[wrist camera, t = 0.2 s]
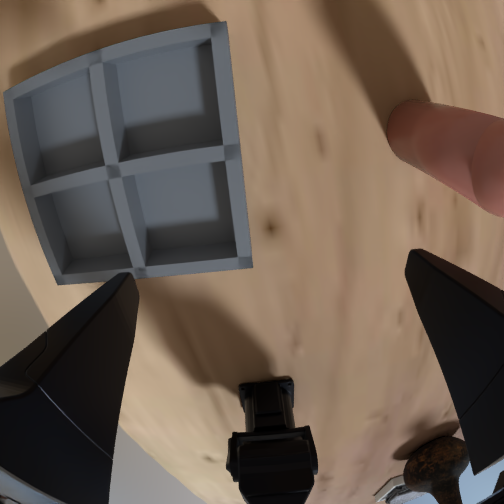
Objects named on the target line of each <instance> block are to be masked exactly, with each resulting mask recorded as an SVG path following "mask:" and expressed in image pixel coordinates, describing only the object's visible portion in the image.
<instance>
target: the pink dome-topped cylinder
mask: <svg viewBox="0 0 504 504" xmlns="http://www.w3.org/2000/svg"><path fill="white" fill-rule="evenodd" d="M387 137H388V142H389V145H390V147H391V149H392V151H393V152H394V154H395V155H396V156H397V157H398V158H399V159H401V160H402V161H404V162H406V163H408V164H410V165H412V166H413V167H415V168H417V169H419V170H421V171H423V172H424V173H426V174H428V175H430V176H431V177H433V178H435V179H436V180H438V181H440V182H442V183H443V184H445V185H447V186H448V187H450V188H452V189H453V190H455V191H456V192H458V193H460V194H461V195H463V196H464V197H466V198H467V199H469V200H470V201H472V202H473V203H475V204H476V205H478V206H479V207H481V208H482V209H484V210H485V211H487V212H489V213H491V214H493V215H495V216H499V217H504V119H503V118H500V117H496V116H492V115H488V114H485V113H481V112H476V111H472V110H468V109H463V108H459V107H454V106H449V105H444V104H438V103H432V102H426V101H420V100H407V101H404V102H402V103H400V104H399V105H398V106H397V107H396V108H395V109H394V110H393V112H392V113H391V115H390V117H389V120H388V125H387Z"/></svg>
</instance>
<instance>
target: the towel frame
mask: <svg viewBox="0 0 504 504" xmlns="http://www.w3.org/2000/svg"><path fill="white" fill-rule="evenodd" d="M402 484H405V483H404V479H403V475H402V476H399V477H396V478H393V479H391V480H390V481H389V482H388V483H387V484H386V485H385V486H384V487H383V488H382V489H381V490H380V491H379V492H378V493H377V494H376V495H375V500H376V502H379V501H382V500H385V499H386V497H387V496H386V495H387V494H388V493H389V492H390V491H391V490H393V489H394V488H395V487H396V486H399V485H402Z"/></svg>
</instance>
